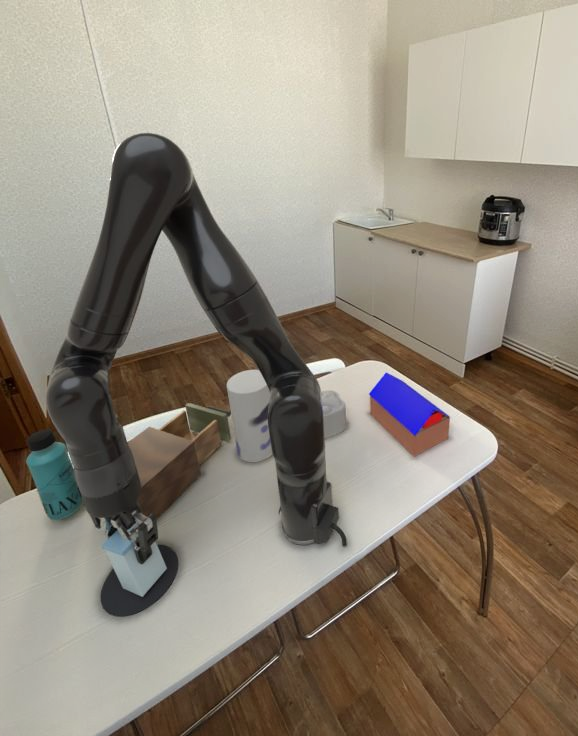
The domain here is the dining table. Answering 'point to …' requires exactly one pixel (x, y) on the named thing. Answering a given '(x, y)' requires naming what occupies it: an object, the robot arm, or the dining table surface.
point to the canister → (133, 564)
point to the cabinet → (163, 468)
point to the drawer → (201, 428)
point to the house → (408, 415)
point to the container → (250, 415)
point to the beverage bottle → (53, 475)
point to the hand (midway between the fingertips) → (132, 551)
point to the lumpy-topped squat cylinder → (333, 413)
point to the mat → (130, 603)
